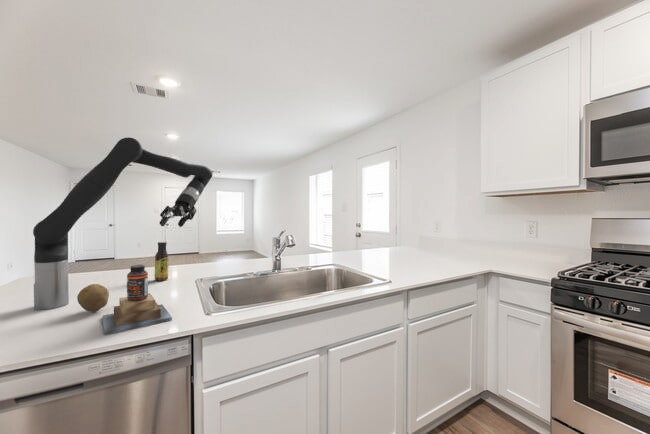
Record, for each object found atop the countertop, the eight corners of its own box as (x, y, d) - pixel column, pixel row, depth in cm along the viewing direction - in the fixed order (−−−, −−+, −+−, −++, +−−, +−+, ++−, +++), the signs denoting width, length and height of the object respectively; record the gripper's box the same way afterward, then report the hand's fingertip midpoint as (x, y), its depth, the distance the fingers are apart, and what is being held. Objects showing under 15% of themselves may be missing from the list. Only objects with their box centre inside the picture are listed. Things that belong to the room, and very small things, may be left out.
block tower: (104, 334, 83) (104, 311, 83) (102, 318, 96) (102, 298, 95) (172, 319, 95) (171, 299, 95) (162, 306, 107) (162, 288, 107)
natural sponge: (83, 308, 104) (83, 282, 104) (112, 305, 108) (112, 280, 108) (73, 317, 96) (72, 288, 96) (105, 314, 100) (104, 286, 99)
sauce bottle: (162, 281, 143) (161, 243, 142) (151, 281, 144) (151, 242, 143) (171, 278, 149) (171, 241, 149) (161, 277, 151) (161, 241, 150)
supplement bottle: (124, 302, 91) (124, 268, 91) (129, 297, 97) (129, 264, 97) (146, 300, 94) (145, 266, 93) (149, 295, 99) (149, 263, 99)
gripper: (170, 192, 127) (150, 218, 116) (198, 192, 124) (181, 219, 113) (178, 204, 132) (160, 230, 121) (205, 205, 130) (189, 231, 119)
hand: (170, 225), depth 117 cm, fingers open, 8 cm apart
